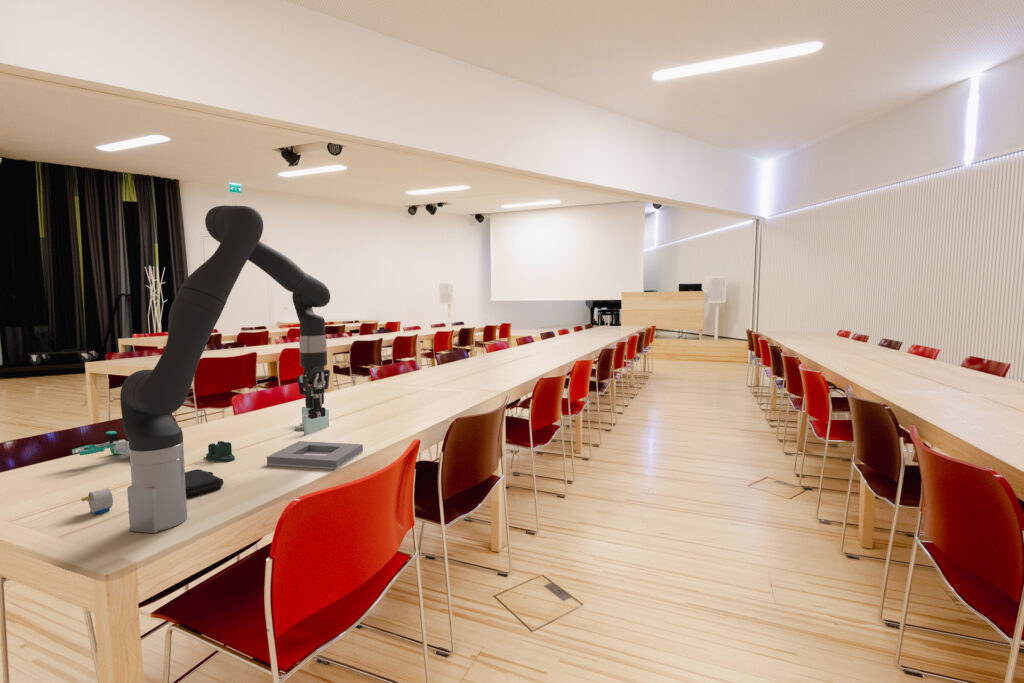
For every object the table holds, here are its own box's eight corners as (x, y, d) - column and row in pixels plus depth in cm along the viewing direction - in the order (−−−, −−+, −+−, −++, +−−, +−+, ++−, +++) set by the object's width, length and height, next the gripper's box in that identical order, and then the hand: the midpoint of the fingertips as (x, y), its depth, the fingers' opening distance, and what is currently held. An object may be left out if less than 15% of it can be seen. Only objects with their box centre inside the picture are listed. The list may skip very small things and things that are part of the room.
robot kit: (61, 468, 138) (59, 436, 137) (154, 444, 161) (153, 417, 160) (98, 477, 131) (96, 444, 130) (190, 451, 153) (189, 422, 153)
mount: (239, 459, 146) (238, 443, 145) (225, 463, 141) (224, 447, 141) (215, 454, 150) (214, 439, 149) (201, 459, 146) (200, 443, 145)
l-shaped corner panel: (303, 425, 187) (303, 406, 187) (329, 428, 184) (328, 408, 183) (280, 433, 176) (279, 413, 176) (306, 436, 172) (305, 415, 172)
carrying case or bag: (231, 487, 124) (205, 475, 132) (230, 476, 123) (205, 465, 132) (184, 501, 115) (160, 488, 123) (183, 489, 115) (159, 476, 123)
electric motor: (78, 512, 108) (76, 491, 108) (104, 505, 112) (103, 484, 112) (88, 520, 104) (86, 498, 104) (115, 512, 108) (114, 491, 108)
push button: (310, 421, 140) (309, 387, 139) (299, 418, 143) (298, 385, 142) (329, 416, 146) (328, 384, 145) (318, 414, 148) (317, 382, 148)
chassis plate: (336, 469, 136) (336, 460, 136) (267, 464, 140) (266, 456, 140) (362, 452, 152) (362, 444, 152) (299, 448, 156) (299, 441, 155)
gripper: (311, 353, 135) (313, 412, 137) (337, 348, 150) (338, 401, 151) (287, 352, 137) (289, 411, 138) (315, 347, 151) (317, 400, 152)
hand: (315, 405), depth 145 cm, fingers closed on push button, 5 cm apart
